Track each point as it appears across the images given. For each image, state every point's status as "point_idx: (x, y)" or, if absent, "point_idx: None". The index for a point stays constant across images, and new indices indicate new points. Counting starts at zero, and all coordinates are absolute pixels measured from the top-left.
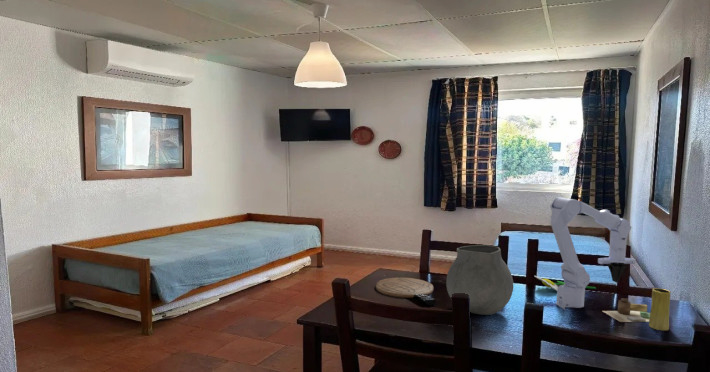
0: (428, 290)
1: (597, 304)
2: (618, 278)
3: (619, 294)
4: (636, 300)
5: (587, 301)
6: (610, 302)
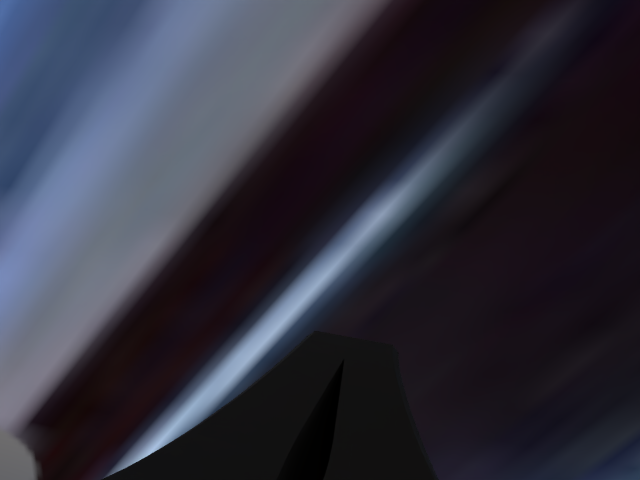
0: None
1: (590, 274)
2: (315, 372)
3: (76, 475)
4: (12, 300)
5: (627, 390)
6: (352, 303)
